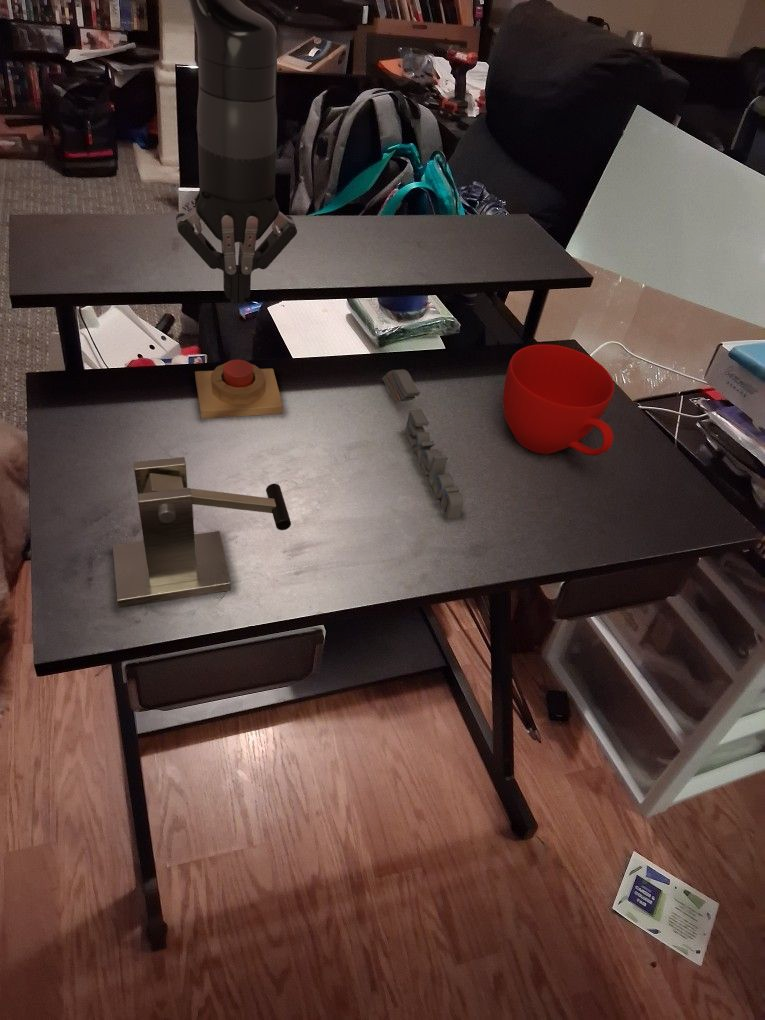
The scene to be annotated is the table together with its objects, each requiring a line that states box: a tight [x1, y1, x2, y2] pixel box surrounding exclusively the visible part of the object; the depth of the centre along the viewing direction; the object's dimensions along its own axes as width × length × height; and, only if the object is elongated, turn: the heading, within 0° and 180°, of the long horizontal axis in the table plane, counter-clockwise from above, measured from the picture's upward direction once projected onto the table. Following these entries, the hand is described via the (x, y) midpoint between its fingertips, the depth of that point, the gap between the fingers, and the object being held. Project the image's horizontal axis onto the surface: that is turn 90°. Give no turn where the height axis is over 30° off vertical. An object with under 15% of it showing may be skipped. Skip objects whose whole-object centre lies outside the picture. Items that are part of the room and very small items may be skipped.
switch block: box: [194, 363, 284, 419], centre depth 92 cm, size 10×8×3 cm
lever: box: [143, 473, 292, 531], centre depth 67 cm, size 13×5×2 cm, turn 107°
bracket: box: [112, 456, 232, 609], centre depth 68 cm, size 10×7×13 cm, turn 108°
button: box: [223, 359, 253, 387], centre depth 91 cm, size 4×4×2 cm
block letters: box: [381, 369, 465, 520], centre depth 89 cm, size 25×2×6 cm, turn 18°
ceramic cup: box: [502, 343, 615, 456], centre depth 91 cm, size 13×17×10 cm
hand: (237, 299), depth 83 cm, fingers closed
